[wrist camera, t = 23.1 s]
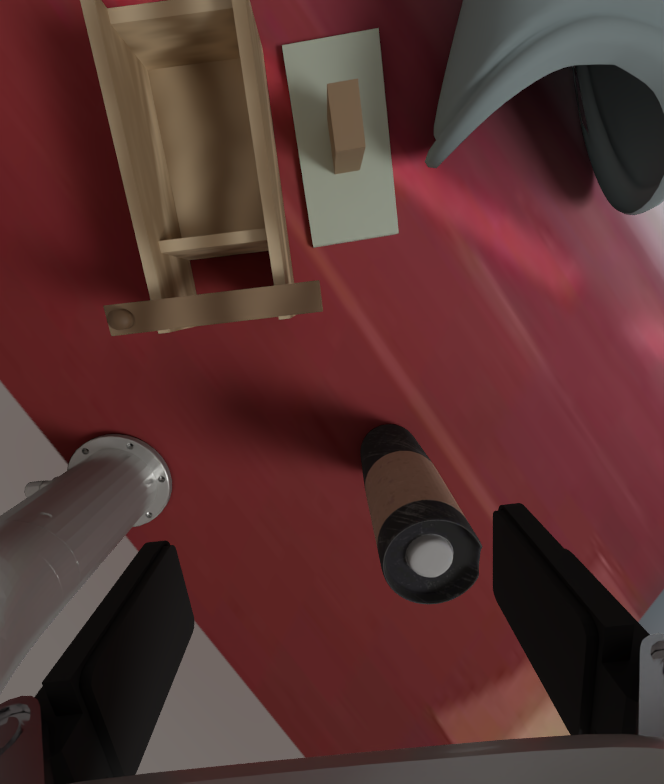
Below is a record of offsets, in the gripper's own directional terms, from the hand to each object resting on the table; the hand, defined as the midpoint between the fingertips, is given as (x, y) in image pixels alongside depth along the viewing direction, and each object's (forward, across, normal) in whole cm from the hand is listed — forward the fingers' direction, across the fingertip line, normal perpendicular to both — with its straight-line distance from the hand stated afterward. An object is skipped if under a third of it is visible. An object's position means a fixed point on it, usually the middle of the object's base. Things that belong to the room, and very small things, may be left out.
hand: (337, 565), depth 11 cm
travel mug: (+34, -6, +12) cm, 36 cm away
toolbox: (+33, +9, -18) cm, 39 cm away
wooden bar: (+24, +9, -8) cm, 27 cm away
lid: (+34, -4, -22) cm, 40 cm away
